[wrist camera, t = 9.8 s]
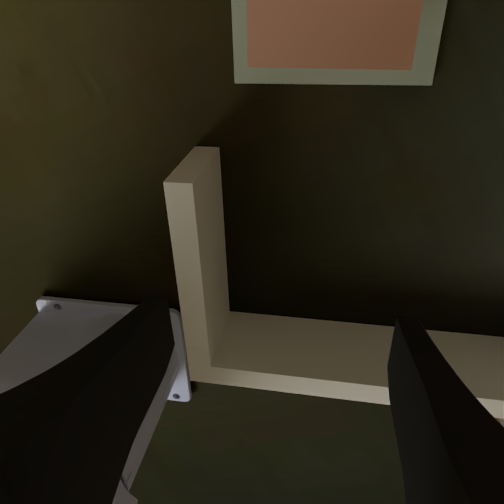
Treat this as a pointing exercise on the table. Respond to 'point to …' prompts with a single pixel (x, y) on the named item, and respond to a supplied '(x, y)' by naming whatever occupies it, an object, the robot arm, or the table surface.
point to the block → (332, 33)
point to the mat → (418, 75)
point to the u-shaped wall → (287, 318)
